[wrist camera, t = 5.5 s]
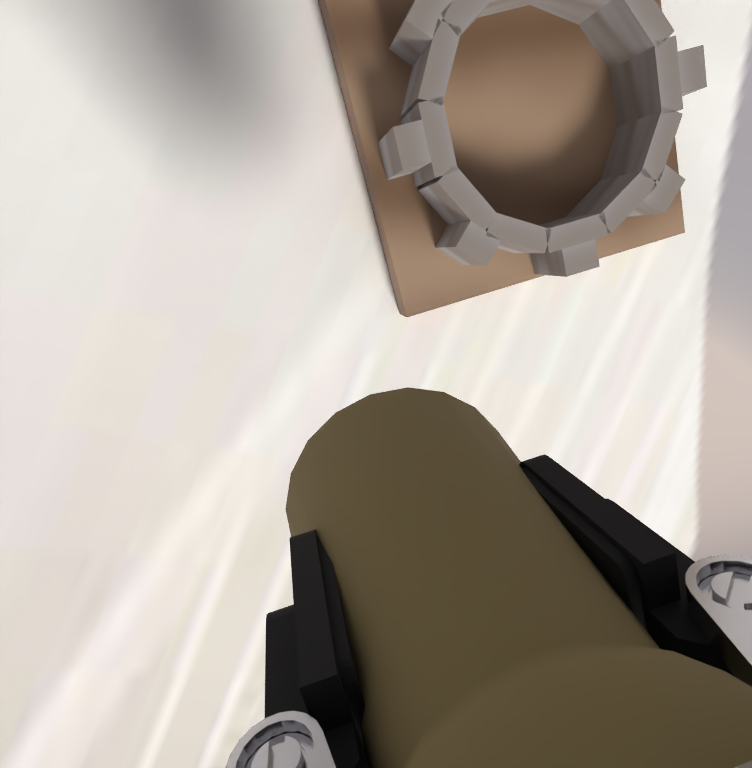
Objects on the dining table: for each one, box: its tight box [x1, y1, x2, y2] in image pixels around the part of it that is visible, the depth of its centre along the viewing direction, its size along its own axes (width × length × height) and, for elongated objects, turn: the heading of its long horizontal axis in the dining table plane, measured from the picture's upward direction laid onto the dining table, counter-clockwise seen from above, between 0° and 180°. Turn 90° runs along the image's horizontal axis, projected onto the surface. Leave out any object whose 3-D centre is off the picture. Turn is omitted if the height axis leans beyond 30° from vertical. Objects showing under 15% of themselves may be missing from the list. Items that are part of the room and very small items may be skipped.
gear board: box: [318, 0, 707, 317], centre depth 23 cm, size 23×15×4 cm, turn 15°
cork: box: [286, 388, 752, 768], centre depth 9 cm, size 6×6×11 cm
